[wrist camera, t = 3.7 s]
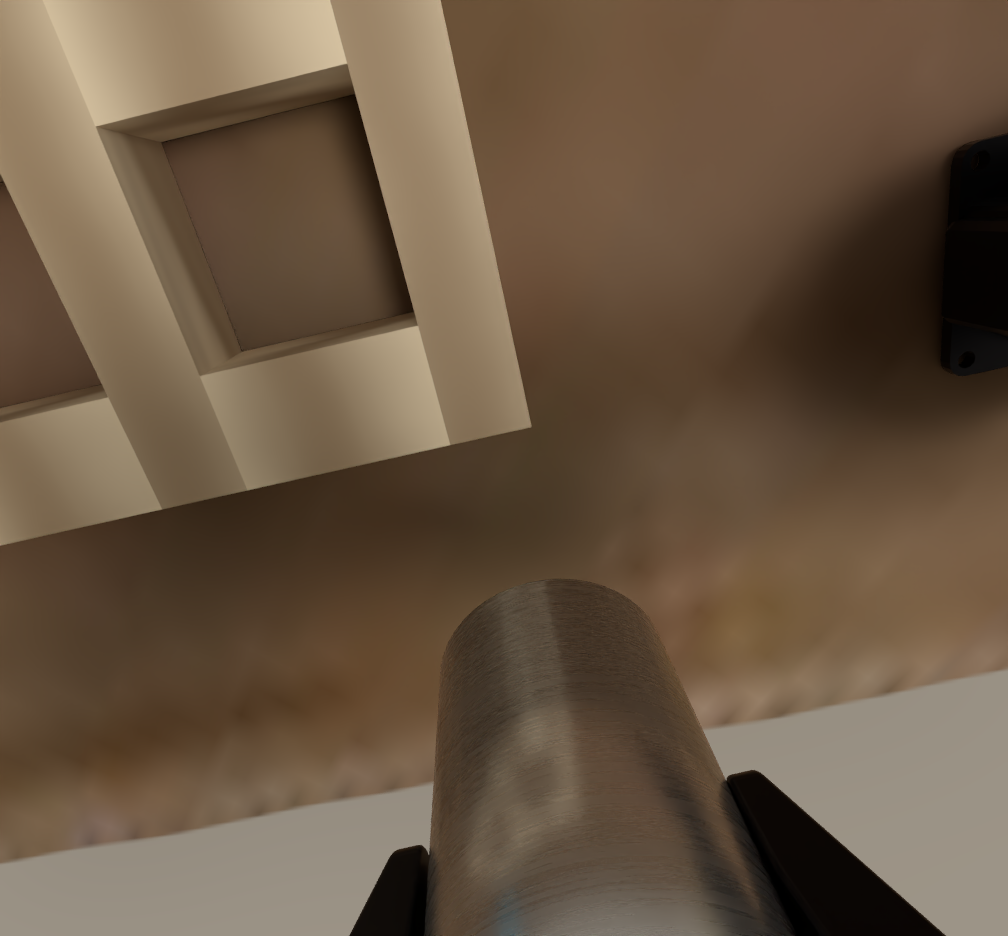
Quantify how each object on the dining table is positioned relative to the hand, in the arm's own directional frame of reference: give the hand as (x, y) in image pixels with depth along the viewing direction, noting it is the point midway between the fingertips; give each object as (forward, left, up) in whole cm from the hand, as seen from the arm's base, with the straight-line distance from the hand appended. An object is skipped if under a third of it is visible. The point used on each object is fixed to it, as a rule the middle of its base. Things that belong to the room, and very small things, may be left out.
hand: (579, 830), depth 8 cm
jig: (+8, -8, -13) cm, 17 cm away
